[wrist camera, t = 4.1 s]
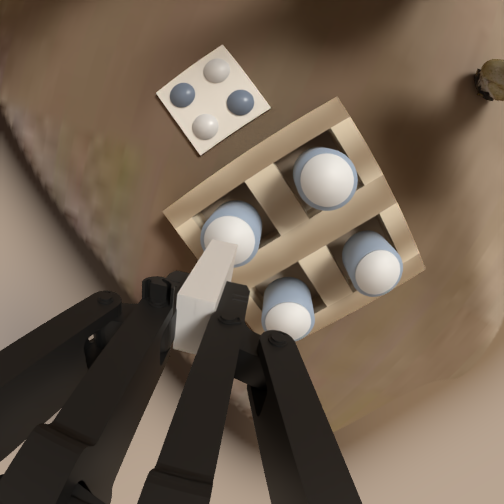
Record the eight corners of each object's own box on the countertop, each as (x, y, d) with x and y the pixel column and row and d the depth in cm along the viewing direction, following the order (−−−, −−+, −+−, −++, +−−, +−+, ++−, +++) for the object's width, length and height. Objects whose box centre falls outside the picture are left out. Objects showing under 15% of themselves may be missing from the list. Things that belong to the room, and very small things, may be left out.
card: (157, 93, 23) (155, 92, 23) (223, 45, 21) (222, 44, 21) (201, 155, 25) (200, 155, 24) (270, 108, 23) (270, 107, 22)
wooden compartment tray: (174, 203, 26) (162, 211, 24) (330, 101, 22) (337, 96, 19) (272, 334, 30) (271, 352, 28) (413, 256, 26) (425, 268, 23)
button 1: (200, 218, 24) (188, 232, 20) (243, 190, 23) (236, 200, 19) (230, 258, 25) (222, 279, 21) (272, 233, 24) (271, 250, 20)
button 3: (254, 291, 26) (250, 315, 22) (295, 268, 25) (298, 289, 21) (279, 324, 27) (279, 351, 23) (319, 304, 26) (324, 329, 22)
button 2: (282, 165, 22) (283, 170, 18) (328, 137, 21) (337, 137, 17) (311, 209, 23) (316, 222, 19) (355, 182, 22) (369, 191, 18)
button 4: (333, 246, 24) (342, 265, 20) (375, 221, 23) (391, 235, 19) (354, 284, 25) (365, 307, 21) (395, 260, 24) (411, 280, 20)
